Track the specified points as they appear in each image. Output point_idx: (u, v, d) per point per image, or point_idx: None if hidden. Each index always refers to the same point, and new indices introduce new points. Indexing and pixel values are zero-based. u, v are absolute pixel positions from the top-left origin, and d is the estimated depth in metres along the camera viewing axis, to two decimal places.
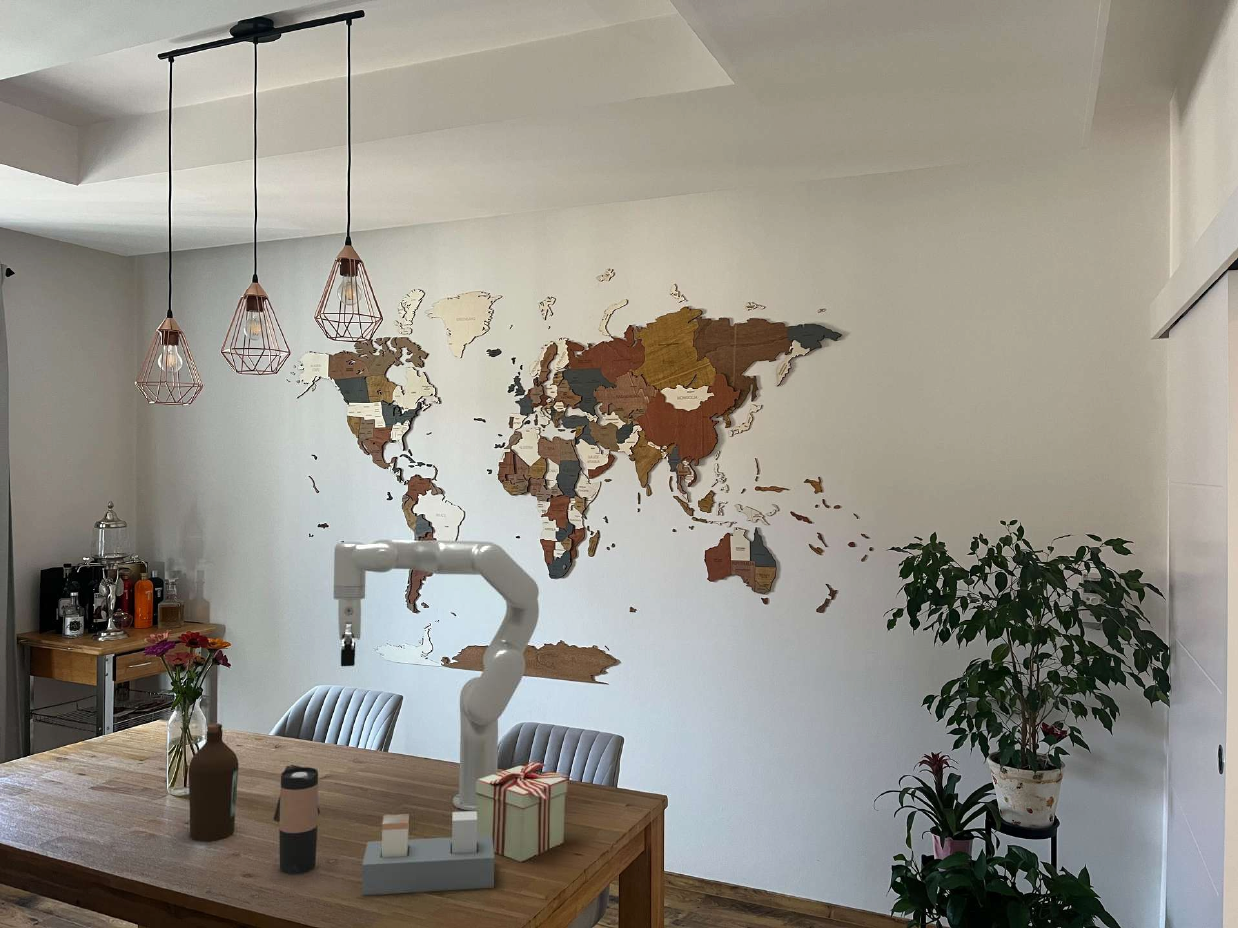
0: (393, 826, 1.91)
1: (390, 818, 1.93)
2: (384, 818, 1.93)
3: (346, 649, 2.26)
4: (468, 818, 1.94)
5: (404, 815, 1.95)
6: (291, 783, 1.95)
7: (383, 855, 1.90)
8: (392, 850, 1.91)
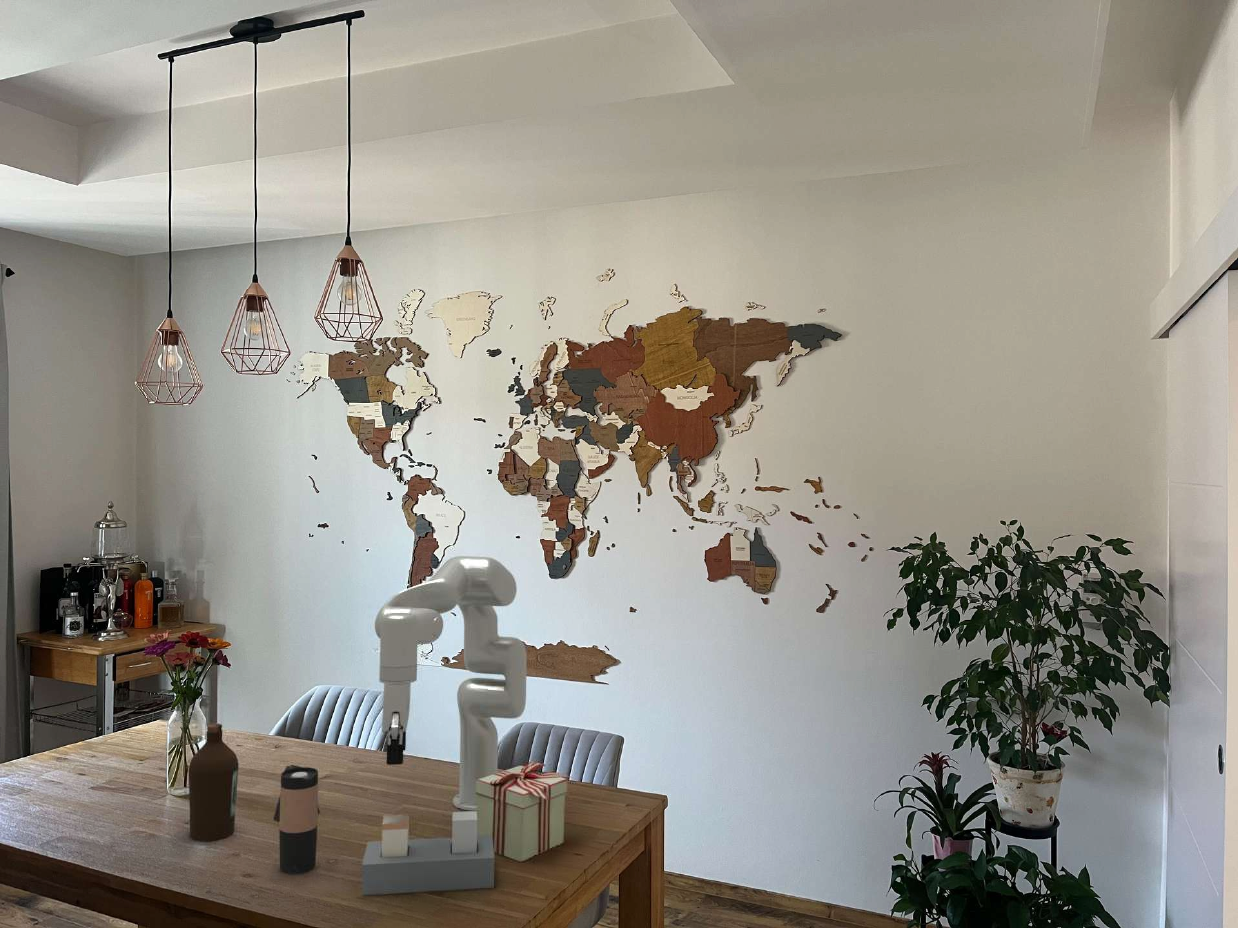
0: (393, 826, 1.91)
1: (390, 818, 1.93)
2: (384, 818, 1.93)
3: None
4: (468, 818, 1.94)
5: (404, 815, 1.95)
6: (291, 783, 1.95)
7: (383, 855, 1.90)
8: (392, 850, 1.91)
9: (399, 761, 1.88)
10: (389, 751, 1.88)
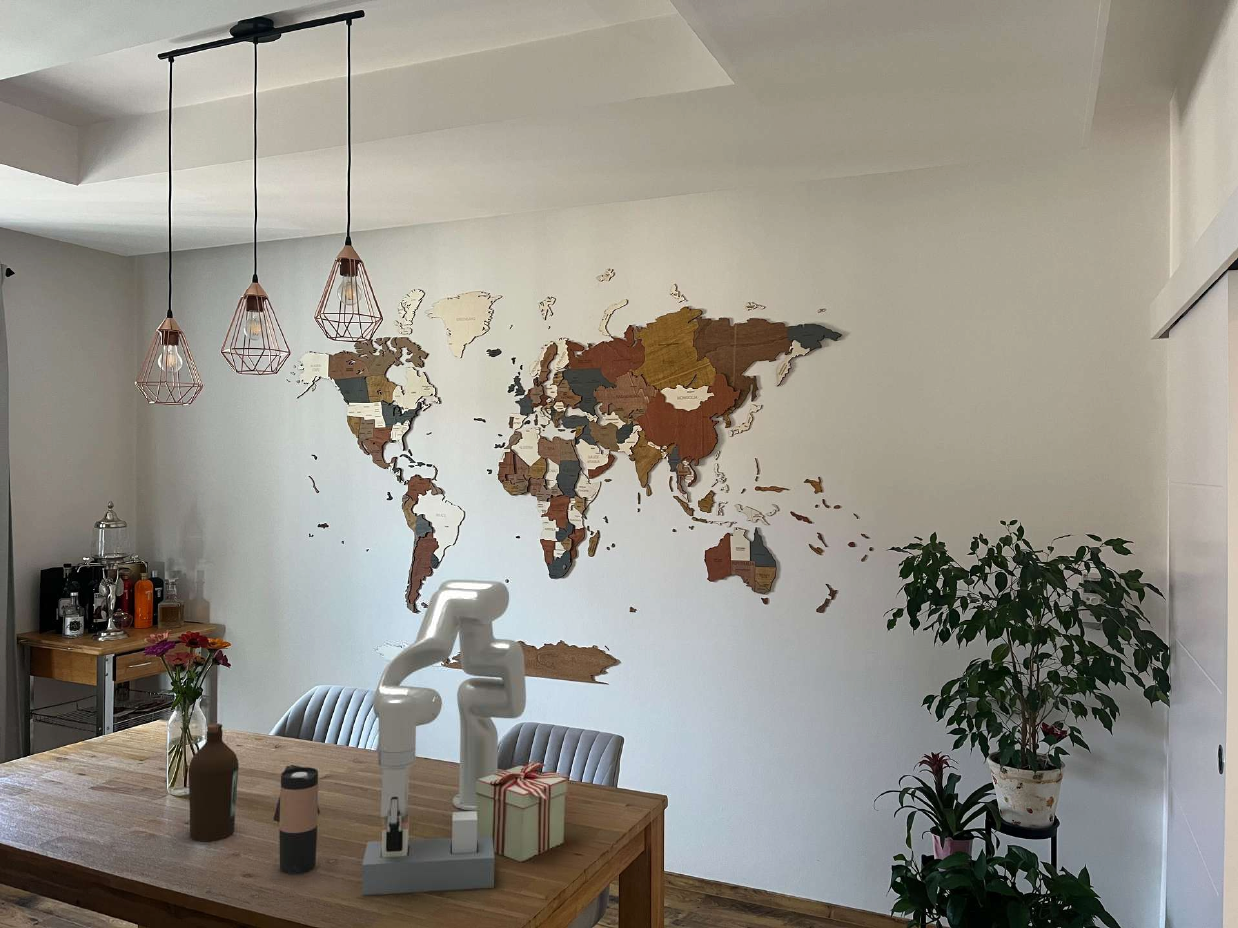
0: None
1: None
2: (384, 818, 1.93)
3: None
4: (468, 818, 1.94)
5: (404, 815, 1.95)
6: (291, 783, 1.95)
7: (383, 855, 1.90)
8: None
9: (398, 848, 1.90)
10: (388, 838, 1.90)
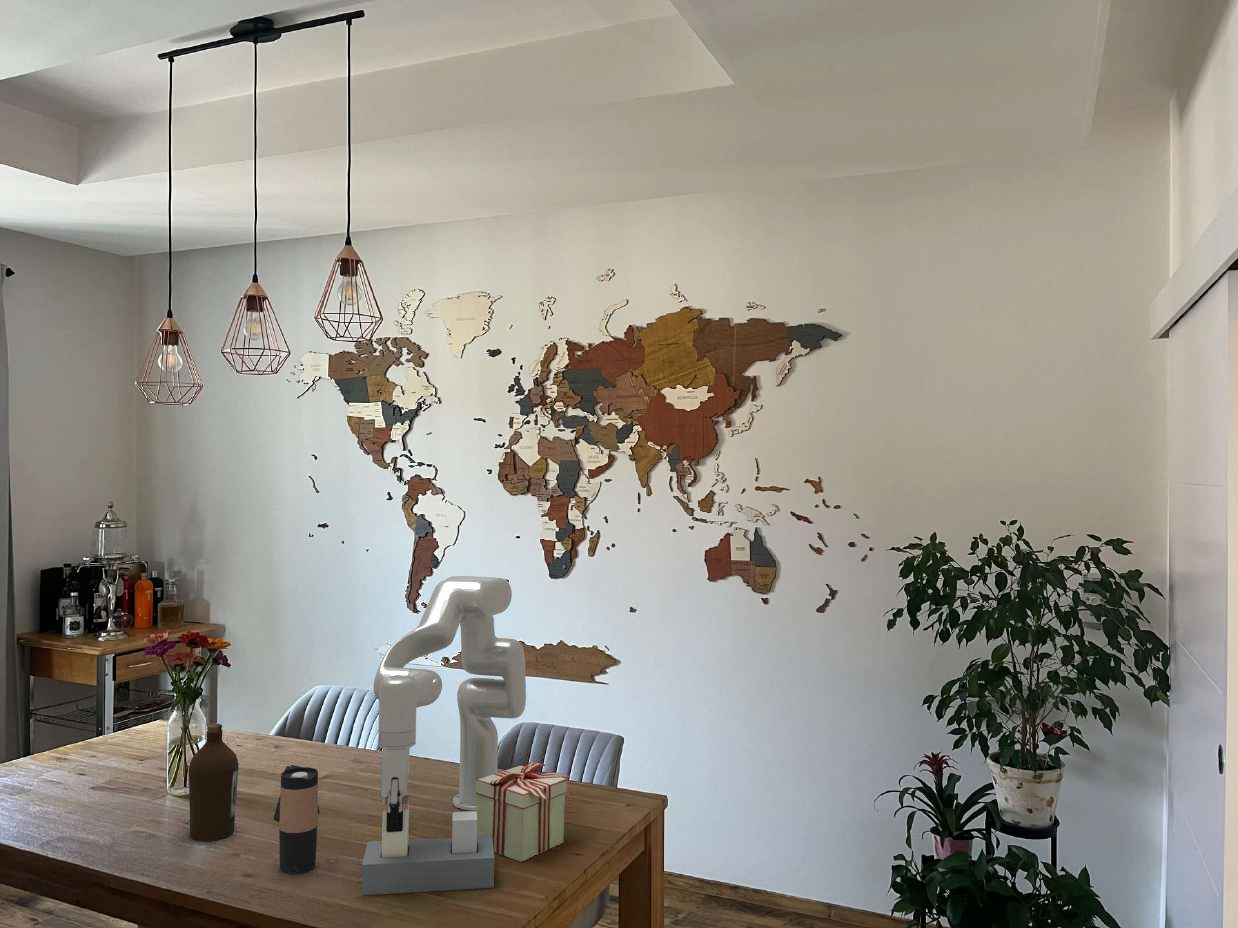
0: None
1: None
2: (384, 799, 1.93)
3: None
4: (468, 818, 1.94)
5: (404, 796, 1.95)
6: (291, 783, 1.95)
7: (383, 836, 1.90)
8: None
9: (399, 828, 1.90)
10: (389, 819, 1.90)
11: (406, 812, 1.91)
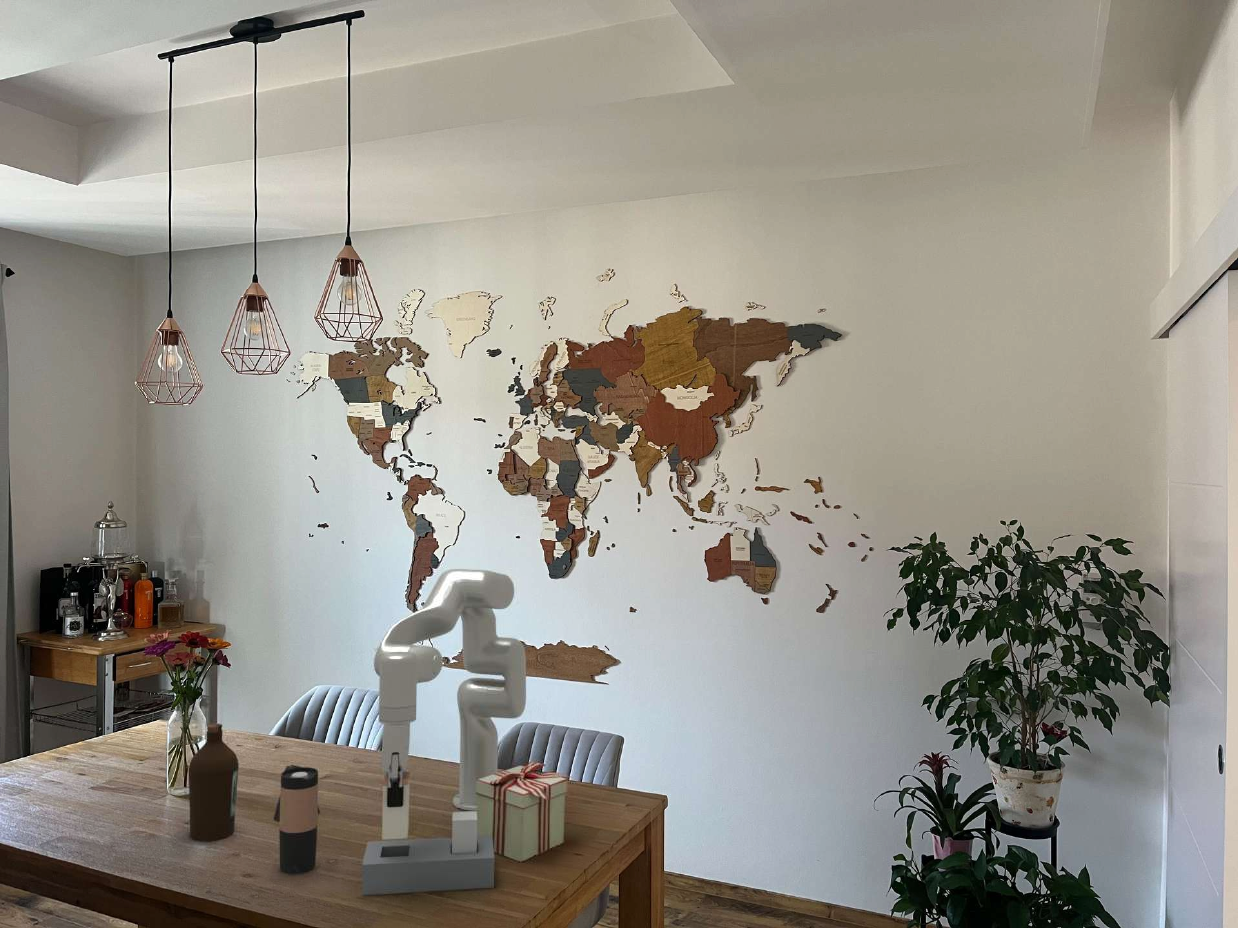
0: None
1: None
2: (385, 775, 1.94)
3: None
4: (468, 818, 1.94)
5: (405, 772, 1.95)
6: (291, 783, 1.95)
7: (384, 811, 1.90)
8: None
9: (399, 803, 1.90)
10: (389, 794, 1.90)
11: (406, 787, 1.91)
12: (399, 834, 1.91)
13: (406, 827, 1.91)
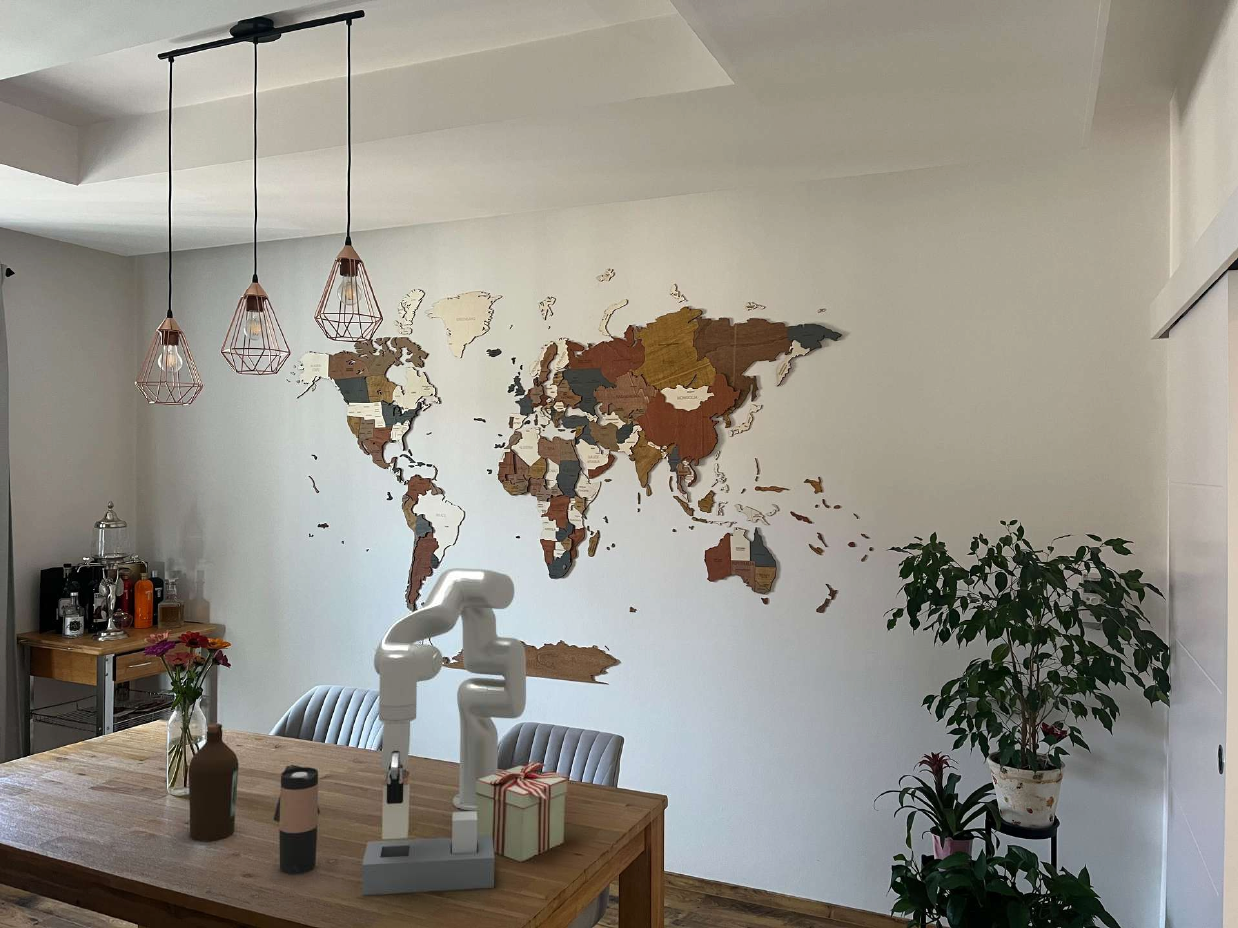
0: None
1: None
2: (385, 774, 1.94)
3: None
4: (468, 818, 1.94)
5: (405, 772, 1.95)
6: (291, 783, 1.95)
7: (384, 811, 1.90)
8: (393, 806, 1.91)
9: (399, 800, 1.89)
10: (389, 790, 1.88)
11: (406, 787, 1.91)
12: (399, 834, 1.91)
13: (406, 827, 1.91)
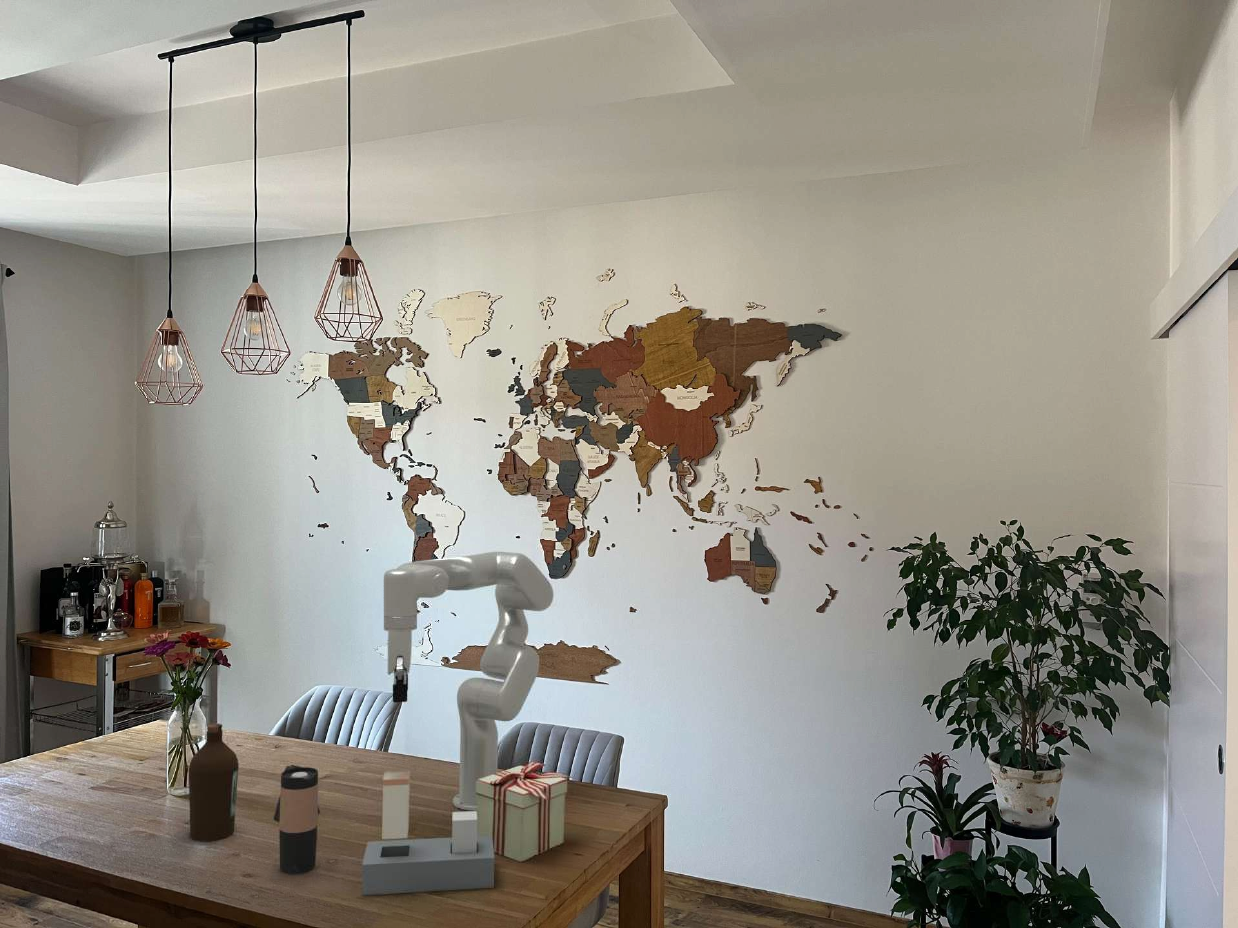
0: (394, 782, 1.91)
1: (391, 774, 1.94)
2: (385, 774, 1.94)
3: None
4: (468, 818, 1.94)
5: (405, 772, 1.95)
6: (291, 783, 1.95)
7: (384, 811, 1.90)
8: (393, 806, 1.91)
9: (404, 699, 2.13)
10: (395, 690, 2.12)
11: (406, 787, 1.91)
12: (399, 834, 1.91)
13: (406, 827, 1.91)
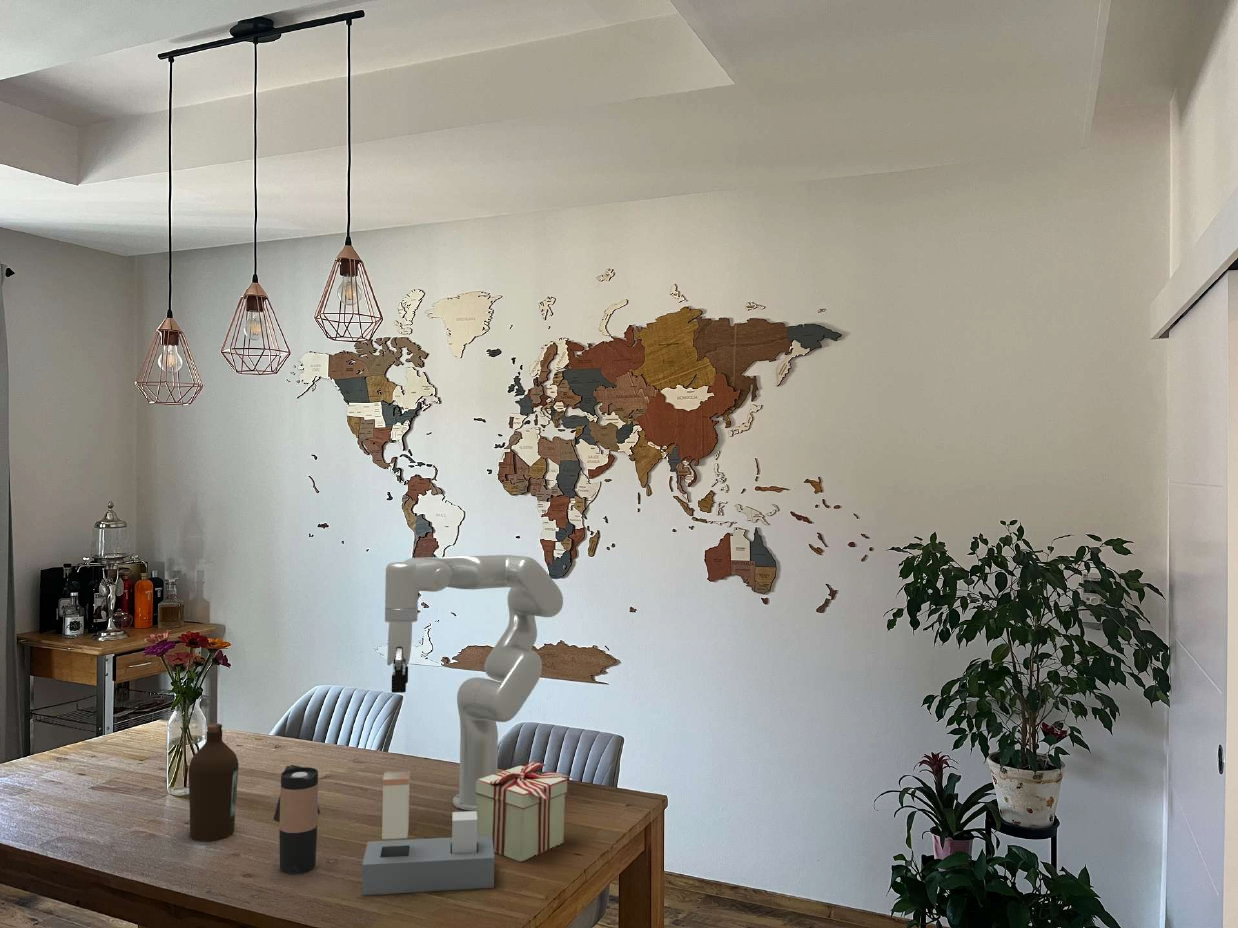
0: (394, 782, 1.91)
1: (391, 774, 1.94)
2: (385, 774, 1.94)
3: None
4: (468, 818, 1.94)
5: (405, 772, 1.95)
6: (291, 783, 1.95)
7: (384, 811, 1.90)
8: (393, 806, 1.91)
9: (402, 689, 2.16)
10: (394, 681, 2.16)
11: (406, 787, 1.91)
12: (399, 834, 1.91)
13: (406, 827, 1.91)
